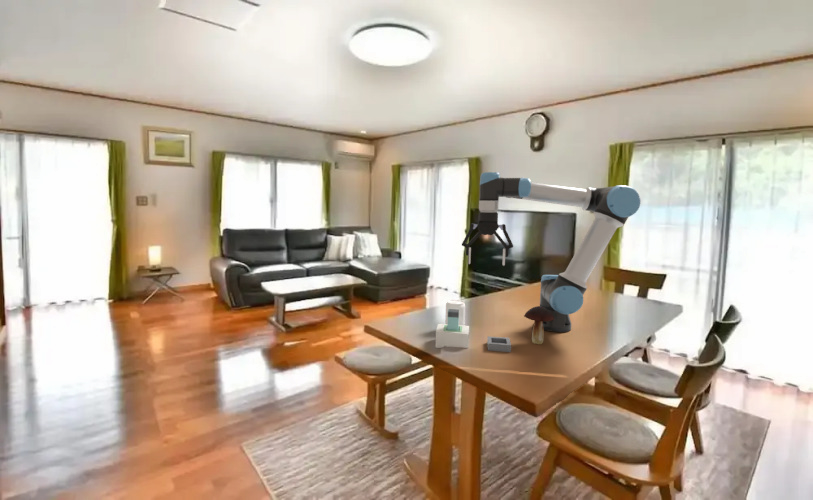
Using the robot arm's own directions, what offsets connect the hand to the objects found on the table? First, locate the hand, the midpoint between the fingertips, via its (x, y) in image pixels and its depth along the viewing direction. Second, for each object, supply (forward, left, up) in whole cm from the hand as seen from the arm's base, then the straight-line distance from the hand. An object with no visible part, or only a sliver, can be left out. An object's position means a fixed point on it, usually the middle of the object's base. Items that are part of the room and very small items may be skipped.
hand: (486, 264), depth 162 cm
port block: (+12, +16, -29) cm, 35 cm away
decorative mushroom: (-20, +10, -29) cm, 37 cm away
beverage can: (+12, -2, -29) cm, 31 cm away
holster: (-5, +18, -29) cm, 34 cm away
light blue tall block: (+12, +16, -28) cm, 34 cm away
